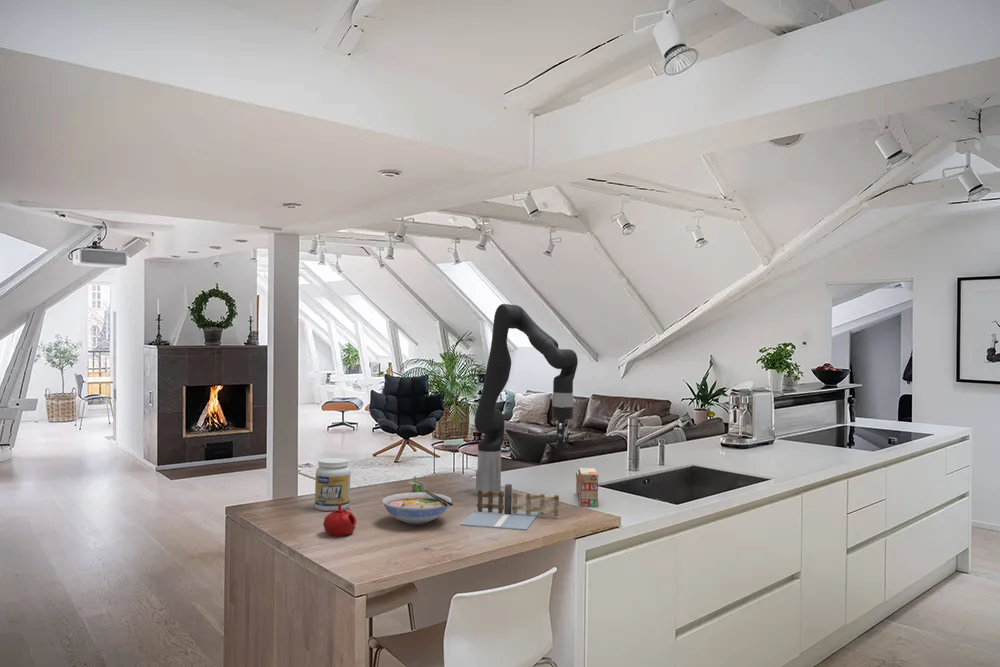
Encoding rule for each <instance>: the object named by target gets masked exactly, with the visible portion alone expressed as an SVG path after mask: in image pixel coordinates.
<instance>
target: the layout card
mask: <svg viewBox="0 0 1000 667" xmlns="http://www.w3.org/2000/svg"><path fill="white" fill-rule="evenodd" d="M504 511H505V508H504V509H503V513H498V509H493V512H492V513H489V512H488V508H482V512H478V508H477V507H476V509H475V510H474V511H473V512H471V514H470V515H468V516H467V517H466V518H465V519H464V520H463V521H462V522H461V523H460V526H463V527H478V528H491V529H504V530H518V531H528V530H529V528H530V527H531V525H532V524H533V523H534V521H535V519H536V518H537V517H538V515H540V512H533V511H531V514H526V511H519V510H517V513H512V509H511V514H509V515H508V514H504Z"/></svg>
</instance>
